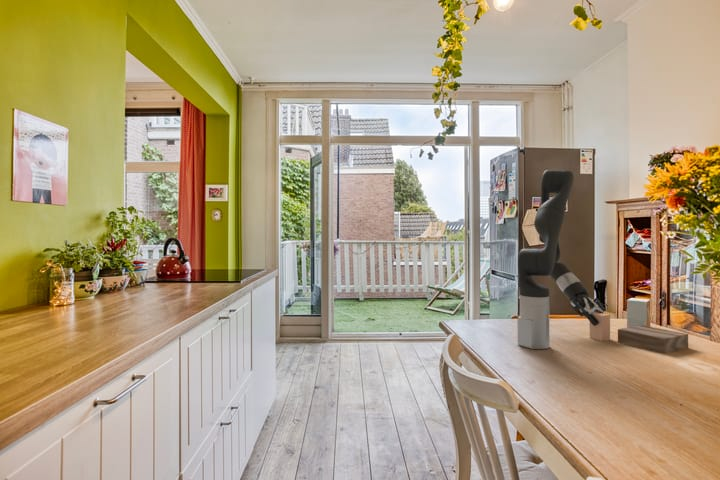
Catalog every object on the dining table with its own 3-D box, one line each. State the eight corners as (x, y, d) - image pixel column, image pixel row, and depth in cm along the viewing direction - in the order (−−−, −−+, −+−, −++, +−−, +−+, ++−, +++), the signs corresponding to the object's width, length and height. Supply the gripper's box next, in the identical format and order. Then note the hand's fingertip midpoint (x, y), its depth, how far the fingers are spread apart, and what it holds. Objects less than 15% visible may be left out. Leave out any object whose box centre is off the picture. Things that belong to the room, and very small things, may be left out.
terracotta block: (601, 340, 130) (601, 315, 130) (589, 337, 134) (589, 313, 134) (610, 339, 132) (610, 314, 132) (597, 336, 136) (597, 312, 136)
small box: (647, 336, 135) (647, 301, 135) (626, 333, 140) (626, 299, 140) (651, 333, 141) (650, 299, 141) (630, 330, 145) (630, 297, 145)
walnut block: (664, 354, 116) (664, 338, 116) (617, 343, 128) (617, 329, 128) (688, 349, 121) (688, 334, 121) (641, 338, 134) (641, 325, 134)
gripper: (564, 281, 138) (596, 319, 127) (590, 280, 144) (622, 316, 133) (552, 293, 143) (581, 331, 132) (577, 291, 149) (607, 327, 137)
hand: (602, 323), depth 132 cm, fingers open, 5 cm apart
